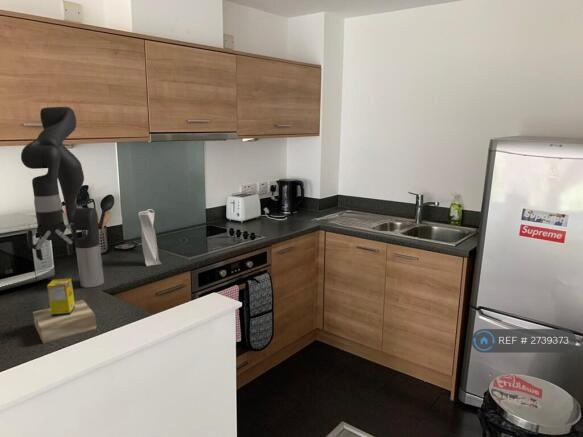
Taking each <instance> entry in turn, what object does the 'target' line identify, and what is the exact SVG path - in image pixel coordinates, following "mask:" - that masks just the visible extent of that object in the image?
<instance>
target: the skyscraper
mask: <svg viewBox="0 0 583 437" xmlns="http://www.w3.org/2000/svg"><path fill="white" fill-rule="evenodd" d="M151 211H152V212H151ZM138 217H139V218H138V219H139V222H140V226H141V246H142V251H143V257H144V260H145V261H144V265H145V266H146V267H151V266H157V265H162V262H161V261H160V257H159V256H160V255H159V249H158V248H159V246H158V245H157V244H158V243H157V234H156V231H155V228H154V224H155V210H153V209H152V208H150V209H146V210H143V211H139V212H138Z"/></svg>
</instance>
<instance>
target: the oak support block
mask: <svg viewBox="0 0 583 437" xmlns="http://www.w3.org/2000/svg"><path fill="white" fill-rule="evenodd" d="M74 302H75V308H74V310H73V311H72V313H71V314H70V315H58V316H52V315H51V309H50V307H48V308H44V309H40V310H36V311H32V316H33V321H34V326H35V328H36V332H37V333H38V335H39V338H40V339H41V340H40V341H41V342H42V344H46V343H50V342H53V341H57V340H60V339H63V338H66V337H70V336H74V335H79V334H81V333H85V332H88V331H91V330H96V329H98V328H97V327H98V326H97V320H96V319H97V318H96V314H95V312H94V311H93V310H92V309H91V308H90V306H89V305H88V304H87V303H86V301H85V300H84V299H81V300H76V301H74Z"/></svg>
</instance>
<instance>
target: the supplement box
mask: <svg viewBox="0 0 583 437" xmlns="http://www.w3.org/2000/svg"><path fill="white" fill-rule="evenodd" d="M46 289H47V295H48V296H47V297H48V302H49V308H50V309H51V315H52V316H58V315H70V314H71V313H72V311H73V310H74V308H75V302H76V301H75V296H74V295H75V294H74V289H73V283H72V278H62V279H60V278H59V279H52V280H51V281H50V282H49V283H48V284H47V286H46Z"/></svg>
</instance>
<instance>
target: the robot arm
mask: <svg viewBox="0 0 583 437" xmlns="http://www.w3.org/2000/svg"><path fill="white" fill-rule="evenodd" d="M39 117H40V122H41V125H42V128H43V130H42V131H40V132H39V134H38V136H37V137H36V139H35V140H33V141H31V142H29V143H28V144H26V145H25V146H24V147H23V149H22V150H21V153H20V160H21V162H22V164H23V165H24V166H25V167H26V168H28V169H33V170H37V169H38V170H39V169H47V173H45V174H43V175H38V176H36V177H33V178H32V180H31V183H32V190H33V191H32V192H33V198H34V200H33V201H34V202H33V204H34V211H35V217H36V225H37V228H35V229H30V228H28V229H26V239H27V247H28V248H29V249H30V250H34V251H35V255H36V257H35V258H37V259H38V260H39V261H43V253H42V249H41V248H42V247H43V245H44V244H45V243H46V241H48V242H49V241H53V240H60V239H61V238H62V239H63V240H64V241H65V242H66V250H67V254H68V256H71V255H72V253H74V247H73V244H75V252H76V253H75V254H76V258H77V266H78V274H79V282H80V287H82V288H95V287H98V286H102V285H103V284H104V282H105V280H104V269H103V261H102V253H101V245H100V232H99V231H100V230H99V217H98V211H97V210H96V209H95V208H94V207H79V208H78V207H77V198H78V194H79V192H80V191H81V188H82V187H83V184H84V181H85V175H84V170H83V167H82V163H81V161H80V160H79V158H78V157H77V156H76V155H75V154H74V153H73V152H71V151H70V150H69V149H68V148H67V147H66V146H65V145H64V143H63V142H64V141H65V140H66V139H68V137H69V136H70V135H71V134H72V133H73V132H74V131H75V130H76V127H77V116H76V114H75V111H74V110H73V108H72V107H69V106H55V107H54V106H53V107H52V106H51V107H43V108H41V110H40V116H39ZM58 183H59V184H58ZM59 186H60V190H61V194H62V197H63V203H64V207H65V213H66V214H65V215H66V218H67V219H66V220H67V223H68V224H65V220H64V213H63V212H64V211H63V203H62V200H61V197H60V190H59ZM66 229H68V230H69V231H70V234H71V237H70V238H69V237H68V236H67V235H65V234H64V233H65V231H66ZM78 231H87V234H86V235H84V236H81V237H78V234H77V232H78ZM36 234H38V235H39V238H38V240H37V241H36V243H35V244H34V238H33V237H35V236H36Z"/></svg>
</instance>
